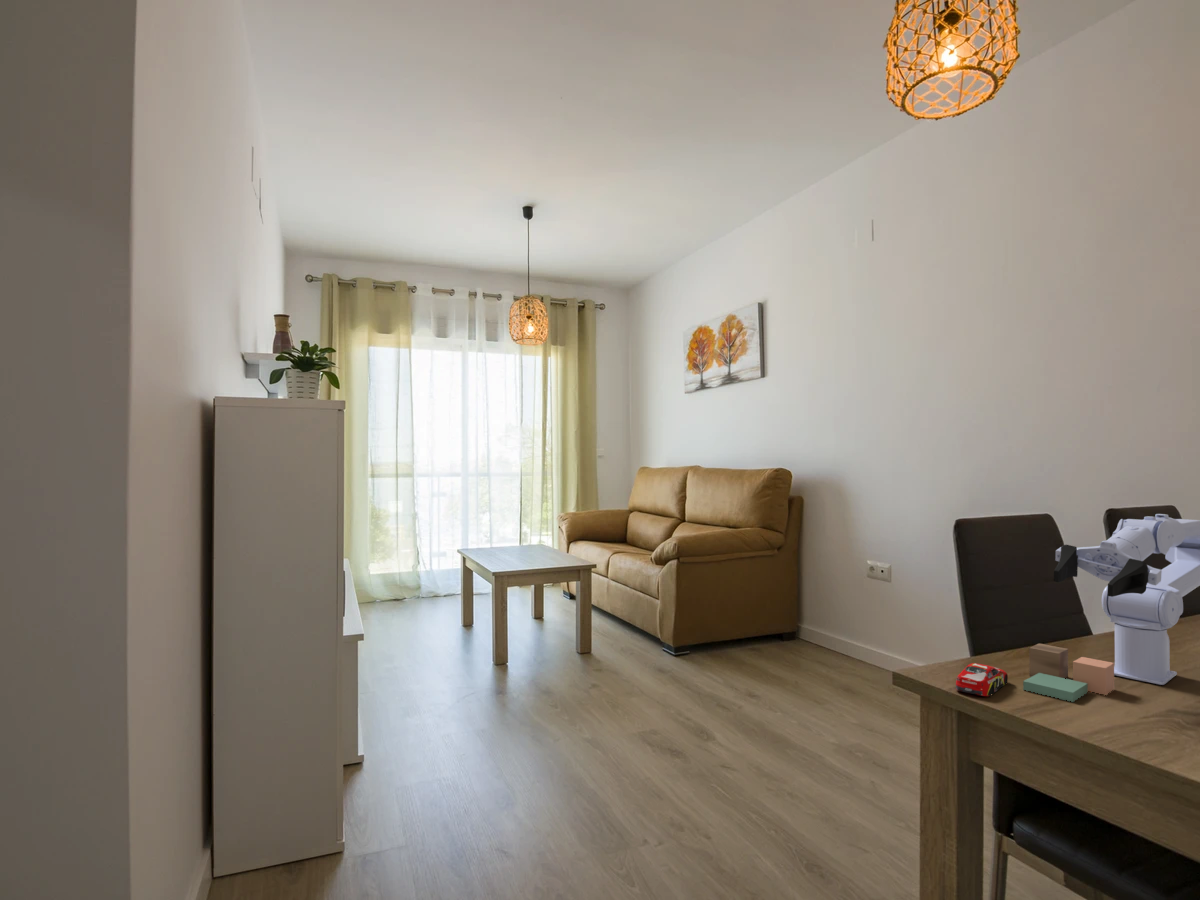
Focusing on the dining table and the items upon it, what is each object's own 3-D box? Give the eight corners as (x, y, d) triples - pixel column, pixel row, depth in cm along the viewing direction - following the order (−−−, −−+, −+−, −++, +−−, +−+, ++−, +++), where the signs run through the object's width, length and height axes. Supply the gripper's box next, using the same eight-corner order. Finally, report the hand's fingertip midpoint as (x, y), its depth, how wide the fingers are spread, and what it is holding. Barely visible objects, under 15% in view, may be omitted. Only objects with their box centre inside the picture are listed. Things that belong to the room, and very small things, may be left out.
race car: (977, 676, 120) (977, 653, 120) (1012, 683, 116) (1012, 660, 116) (949, 693, 111) (949, 668, 111) (985, 702, 107) (985, 676, 107)
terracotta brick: (1082, 683, 116) (1082, 656, 116) (1114, 690, 112) (1114, 662, 112) (1073, 688, 113) (1072, 661, 113) (1105, 696, 110) (1105, 668, 110)
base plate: (1039, 681, 116) (1039, 672, 116) (1087, 692, 111) (1087, 683, 111) (1023, 690, 112) (1023, 681, 112) (1073, 702, 106) (1072, 692, 106)
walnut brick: (1039, 671, 122) (1038, 643, 122) (1068, 677, 119) (1067, 648, 119) (1029, 676, 119) (1029, 647, 119) (1058, 682, 116) (1058, 653, 116)
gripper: (1073, 522, 121) (1034, 548, 114) (1174, 543, 109) (1137, 573, 102) (1072, 558, 123) (1034, 586, 116) (1171, 582, 111) (1135, 615, 104)
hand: (1082, 583), depth 109 cm, fingers open, 7 cm apart
